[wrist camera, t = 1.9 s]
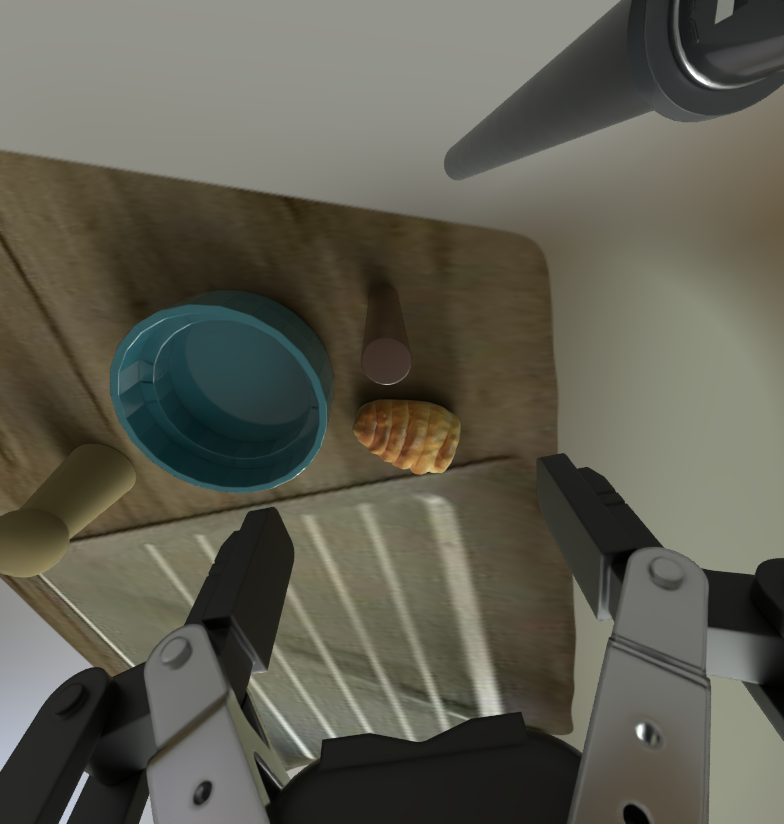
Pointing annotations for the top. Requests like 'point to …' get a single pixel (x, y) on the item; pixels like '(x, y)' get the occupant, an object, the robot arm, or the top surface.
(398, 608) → the top surface
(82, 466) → the cork
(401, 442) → the pastry
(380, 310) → the stirring stick
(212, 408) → the bowl
